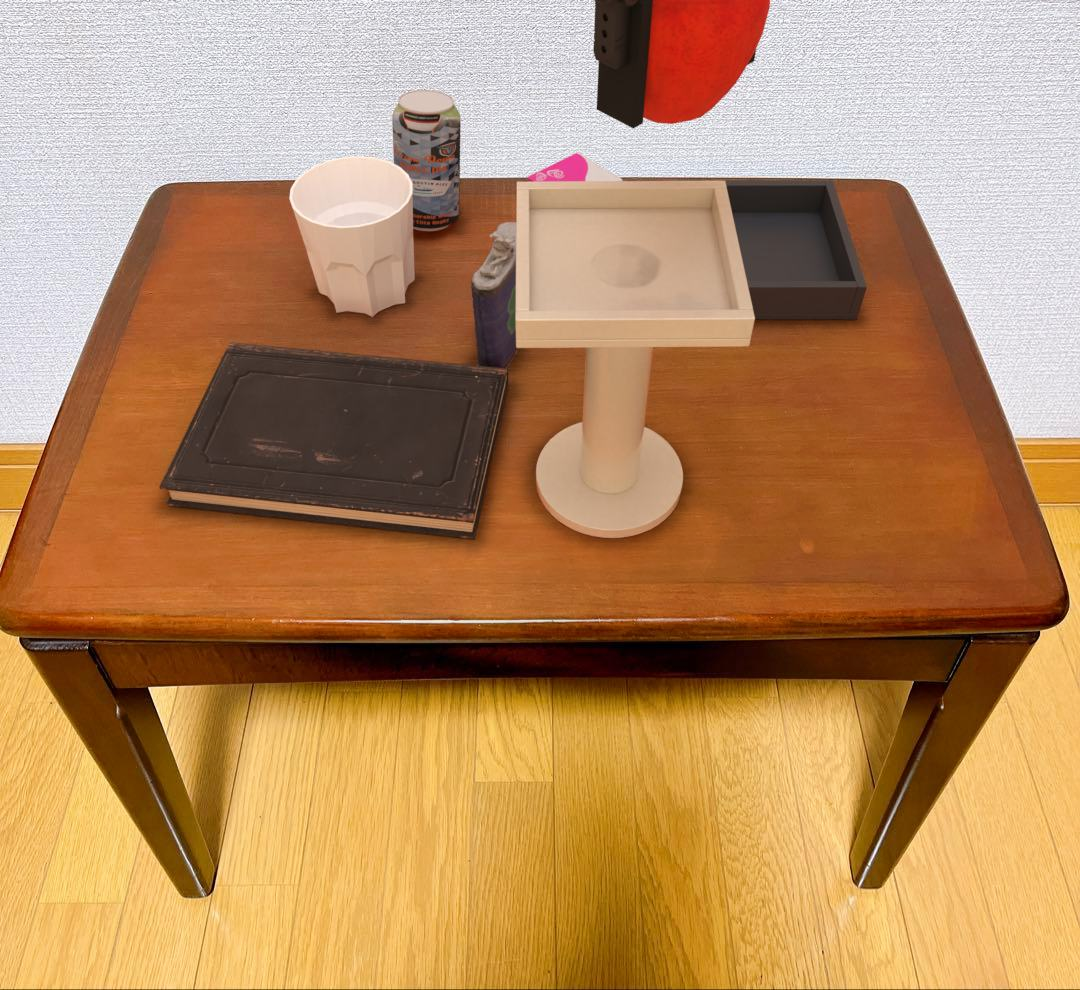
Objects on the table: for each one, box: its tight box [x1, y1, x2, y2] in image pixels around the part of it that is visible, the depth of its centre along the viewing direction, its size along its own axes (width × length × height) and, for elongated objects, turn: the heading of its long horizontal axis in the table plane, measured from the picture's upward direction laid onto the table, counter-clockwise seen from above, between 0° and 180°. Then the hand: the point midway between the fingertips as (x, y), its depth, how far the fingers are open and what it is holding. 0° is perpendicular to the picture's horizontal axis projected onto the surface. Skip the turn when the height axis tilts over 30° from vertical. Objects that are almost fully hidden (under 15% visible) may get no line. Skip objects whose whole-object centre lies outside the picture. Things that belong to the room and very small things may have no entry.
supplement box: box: [526, 151, 624, 182], centre depth 86 cm, size 6×6×12 cm
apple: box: [643, 0, 771, 125], centre depth 55 cm, size 9×9×8 cm
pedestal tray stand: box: [515, 180, 755, 539], centre depth 68 cm, size 13×13×22 cm
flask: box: [470, 221, 520, 369], centre depth 82 cm, size 9×3×11 cm, turn 165°
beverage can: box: [391, 89, 461, 232], centre depth 93 cm, size 6×7×12 cm
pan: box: [724, 179, 868, 321], centre depth 91 cm, size 16×16×4 cm
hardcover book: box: [158, 341, 509, 540], centre depth 78 cm, size 16×23×2 cm
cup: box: [289, 155, 416, 318], centre depth 87 cm, size 10×10×10 cm
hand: (677, 84), depth 57 cm, fingers closed on apple, 9 cm apart
